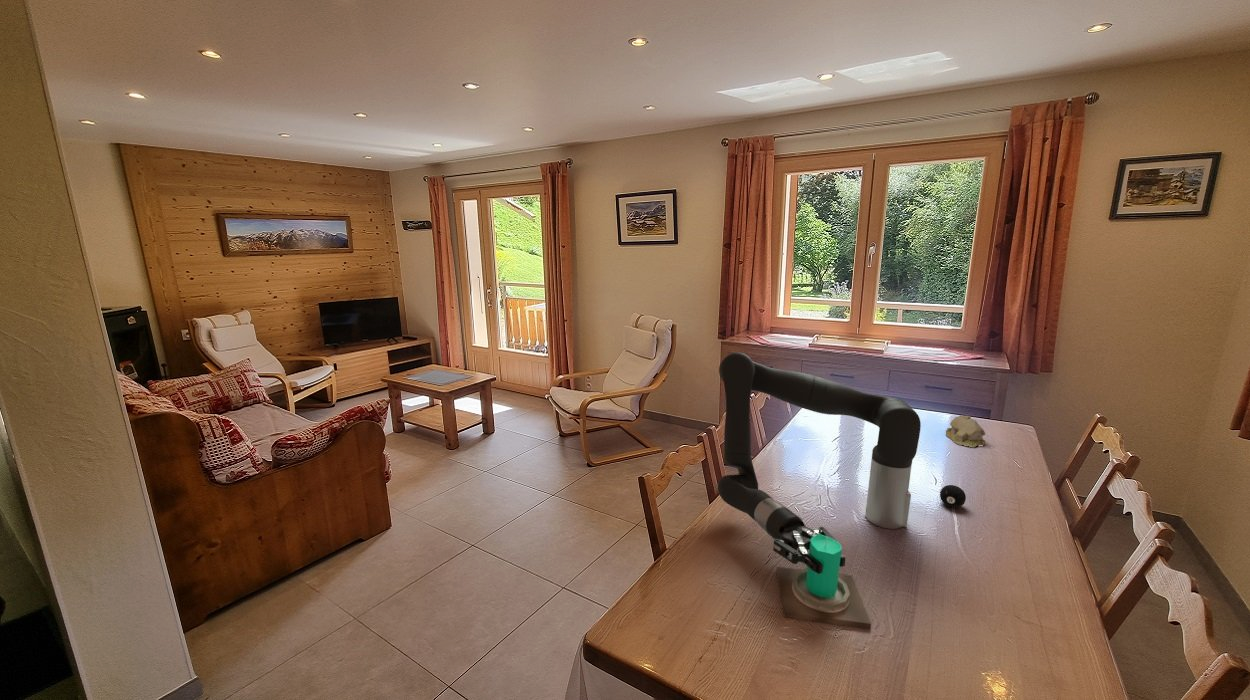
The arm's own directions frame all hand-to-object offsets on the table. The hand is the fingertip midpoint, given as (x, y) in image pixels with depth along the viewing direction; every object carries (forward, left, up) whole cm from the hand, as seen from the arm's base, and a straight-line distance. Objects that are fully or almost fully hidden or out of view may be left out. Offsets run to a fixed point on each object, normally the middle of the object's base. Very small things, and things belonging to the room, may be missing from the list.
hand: (832, 566), depth 96 cm
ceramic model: (-69, -99, -10) cm, 121 cm away
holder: (+1, -2, -9) cm, 10 cm away
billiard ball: (-43, -47, -10) cm, 64 cm away
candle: (+1, -2, -7) cm, 8 cm away
